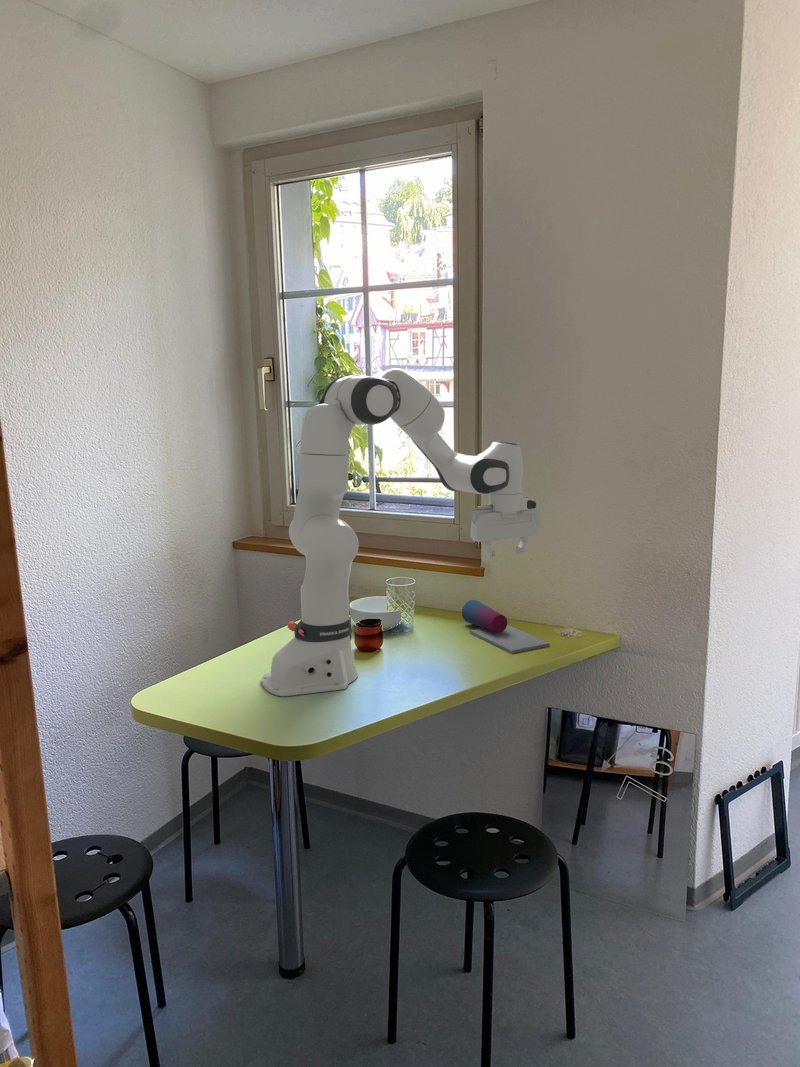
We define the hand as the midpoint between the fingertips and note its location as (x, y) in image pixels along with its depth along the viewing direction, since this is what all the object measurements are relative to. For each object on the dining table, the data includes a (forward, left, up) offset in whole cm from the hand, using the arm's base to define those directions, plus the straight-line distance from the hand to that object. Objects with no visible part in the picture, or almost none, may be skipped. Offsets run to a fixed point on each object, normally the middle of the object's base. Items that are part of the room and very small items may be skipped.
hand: (505, 555), depth 212 cm
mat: (0, -1, -23) cm, 23 cm away
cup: (-1, +1, -19) cm, 19 cm away
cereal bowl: (-25, +27, -23) cm, 43 cm away
